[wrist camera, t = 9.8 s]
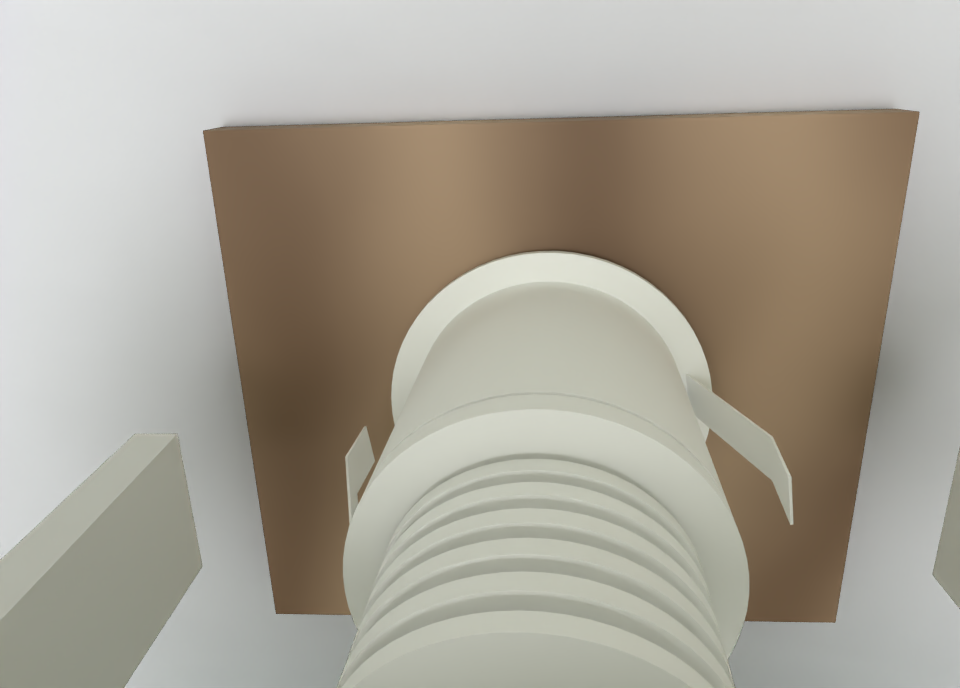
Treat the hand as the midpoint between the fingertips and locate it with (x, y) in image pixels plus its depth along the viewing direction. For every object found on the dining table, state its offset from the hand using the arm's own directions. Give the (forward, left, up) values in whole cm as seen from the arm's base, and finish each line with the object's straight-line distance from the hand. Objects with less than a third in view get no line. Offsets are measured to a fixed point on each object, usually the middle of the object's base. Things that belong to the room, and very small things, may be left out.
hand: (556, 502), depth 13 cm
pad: (0, 0, -5) cm, 5 cm away
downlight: (0, 0, -4) cm, 4 cm away
